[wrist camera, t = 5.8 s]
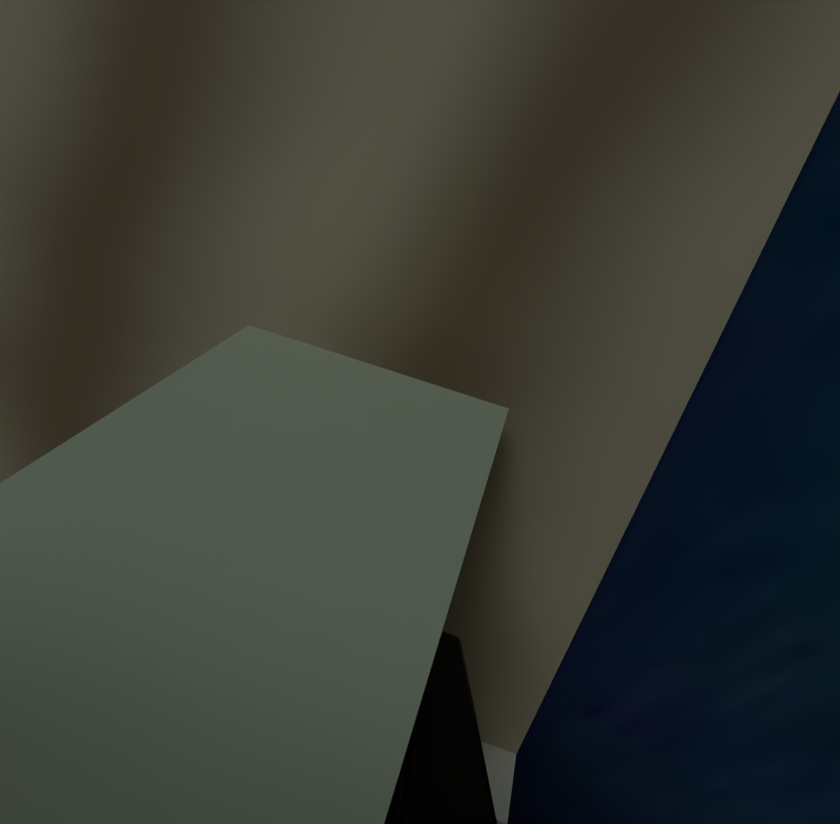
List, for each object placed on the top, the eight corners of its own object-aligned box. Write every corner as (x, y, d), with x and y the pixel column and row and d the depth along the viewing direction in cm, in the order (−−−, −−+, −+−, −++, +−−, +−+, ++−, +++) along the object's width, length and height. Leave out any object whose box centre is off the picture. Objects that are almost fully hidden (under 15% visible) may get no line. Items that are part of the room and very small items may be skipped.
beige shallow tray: (901, -93, 7) (1026, -173, 5) (503, 752, 15) (487, 862, 13) (-408, -375, 10) (-704, -515, 7) (-178, 489, 17) (-290, 545, 15)
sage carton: (508, 407, 9) (317, 1040, 3) (408, 709, 12) (215, 1316, 6) (248, 324, 10) (-379, 722, 3) (216, 634, 13) (-142, 1131, 7)
